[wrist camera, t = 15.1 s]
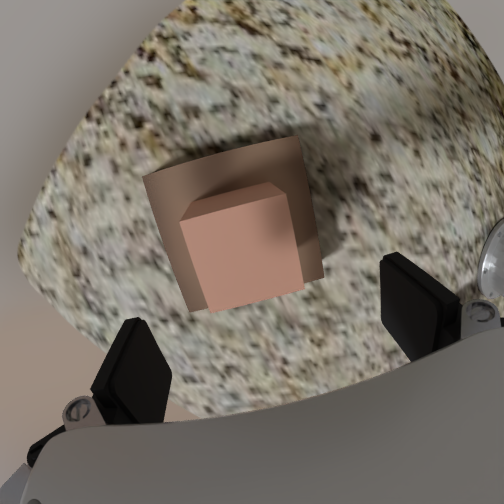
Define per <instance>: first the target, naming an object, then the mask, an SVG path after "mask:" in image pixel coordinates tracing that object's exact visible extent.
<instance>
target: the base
mask: <svg viewBox="0 0 504 504" xmlns="http://www.w3.org/2000/svg"><path fill="white" fill-rule="evenodd" d="M142 178H143V182H144V185H145V188H146V192H147V195H148V198H149V201H150V205H151V208H152V211H153V214H154V217H155V220H156V223H157V226H158V229H159V232H160V235H161V238H162V241H163V244H164V247H165V249H166V252H167V255H168V258H169V261H170V263H171V266H172V269H173V272H174V274H175V277H176V280H177V282H178V285H179V287H180V290H181V293H182V295H183V298H184V300H185V303H186V305H187V308H188V310H189V312H194V311H198V310H202V309H207V308H208V305H207V302H206V300H205V297H204V294H203V291H202V288H201V286H200V283H199V280H198V277H197V274H196V271H195V268H194V265H193V263H192V260H191V257H190V254H189V251H188V248H187V245H186V242H185V238H184V235H183V232H182V229H181V226H180V223H179V221H180V220H181V218H182V216H183V215H184V213H185V211H186V210H187V208H188V207H189V205H190V203H191V202H194V201H197V200H201V199H204V198H208V197H212V196H215V195H219V194H223V193H227V192H230V191H234V190H238V189H242V188H246V187H250V186H254V185H258V184H262V183H266V182H270V183H272V184H273V185H275V186H276V187H277V188H279V189H280V190H281V191H283V192H284V193H286V196H287V201H288V205H289V210H290V215H291V220H292V225H293V230H294V235H295V240H296V245H297V250H298V255H299V260H300V266H301V271H302V277H303V282H304V283H307V282H310V281H314V280H318V279H321V278H324V271H323V264H322V258H321V251H320V245H319V239H318V233H317V227H316V222H315V216H314V210H313V205H312V200H311V195H310V189H309V184H308V179H307V175H306V170H305V165H304V160H303V156H302V151H301V147H300V142H299V138H298V135H296V136H290V137H285V138H280V139H275V140H271V141H266V142H262V143H257V144H253V145H249V146H244V147H240V148H236V149H232V150H228V151H224V152H221V153H217V154H213V155H210V156H206V157H202V158H199V159H195V160H192V161H189V162H185V163H182V164H179V165H176V166H172V167H169V168H166V169H163V170H160V171H157V172H154V173H151V174H148V175H145V176H142Z"/></svg>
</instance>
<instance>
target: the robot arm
mask: <svg viewBox="0 0 504 504" xmlns="http://www.w3.org/2000/svg"><path fill="white" fill-rule="evenodd" d="M478 287H479V290H480V292H481V293H482V294H483V295H484V296H485V297H486V298H488V299H494V298H497V297H499V296H500V295H501V296H503V297H504V219H502V220H501V221H500V222H499V223H498V224H497V225H496V226H495V227H494V229H493V230H492V232H491V233H490V235H489V237H488V239H487V241H486V243H485V246H484V248H483V251H482V254H481V258H480V262H479V267H478ZM380 288H381V321H382V323H383V325H384V327H385V328H386V329H387V330H388V332H389V333H390V334H391V336H392V337H393V338H394V340H395V341H396V342H397V343H398V345H399V346H400V347H401V349H402V350H403V351H404V353H405V354H406V355H407V357H408V358H409V360H410V361H411V362H410V363H408V364H406V365H403V366H401V367H398V368H396V369H393V370H391V371H388V372H386V373H383V374H381V375H378V376H375V377H373V378H370V379H367V380H364V381H361V382H358V383H356V384H353V385H349V386H346V387H343V388H340V389H337V390H334V391H330V392H327V393H324V394H320V395H317V396H313V397H309V398H306V399H302V400H298V401H294V402H290V403H286V404H282V405H277V406H273V407H268V408H263V409H259V410H253V411H248V412H243V413H237V414H231V415H225V416H218V417H211V418H204V419H196V420H187V421H176V422H165V423H164V422H163V421H164V416H165V410H166V405H167V400H168V395H169V390H170V385H171V380H172V372H171V369H170V367H169V365H168V363H167V362H166V360H165V358H164V356H163V354H162V352H161V350H160V348H159V347H158V345H157V343H156V341H155V339H154V337H153V335H152V333H151V331H150V329H149V327H148V325H147V323H146V321H145V320H141V318H139V317H136V318H131V319H126V320H125V321H124V323H123V325H122V327H121V328H120V330H119V332H118V334H117V336H116V338H115V340H114V342H113V344H112V346H111V348H110V350H109V352H108V353H107V355H106V358H105V359H104V361H103V364H102V366H101V368H100V370H99V372H98V374H97V376H96V378H95V380H94V382H93V384H92V386H91V389H90V390H91V391H92V393H93V396H92V398H91V397H89V396H80V397H77V398H75V399H73V400H72V401H70V402H69V403H68V404H67V405H66V407H65V409H64V410H63V415H62V418H63V422H64V425H62V426H61V427H59V428H58V429H56V430H55V431H53V432H52V433H50V434H49V435H47V436H45V437H44V438H42V439H41V440H39V441H38V442H36V443H35V444H33V445H32V446H31V447H30V449H29V452H28V454H27V462H28V465H26V464H25V463H23V465H21V467H20V468H19V469H18V470H17V471H16V472H15V473H14V474H13V475H12V476H11V477H10V478H9V479H8V480H7V481H6V482H5V483H4V485H3V486H2V487H1V488H0V504H504V318H501V317H500V315H499V311H498V308H497V307H496V306H495V305H494V304H493V303H491V302H489V301H486V300H481V299H474V300H471V301H468V302H467V303H465V304H464V306H462V305H461V304H460V303H459V301H460V298H459V297H457V296H456V295H455V294H454V293H452V292H451V291H450V290H448V289H447V288H446V287H445V286H443V285H442V284H441V283H439V282H438V281H437V280H436V279H434V278H433V277H432V276H430V275H429V274H428V273H426V272H425V271H424V270H422V269H421V268H419V267H418V266H417V265H415V264H414V263H413V262H411V261H410V260H408V259H407V258H406V257H404V256H403V255H401V254H400V253H399V252H394V253H391V254H387V255H384V256H383V260H381V261H380Z"/></svg>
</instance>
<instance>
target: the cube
mask: <svg viewBox="0 0 504 504" xmlns="http://www.w3.org/2000/svg"><path fill="white" fill-rule="evenodd" d="M179 223H180V226H181V229H182V232H183V235H184V238H185V242H186V245H187V248H188V251H189V254H190V257H191V260H192V263H193V265H194V268H195V271H196V274H197V277H198V280H199V283H200V286H201V288H202V291H203V294H204V297H205V300H206V302H207V305H208V308H209V310H210V313H214V312H218V311H222V310H226V309H230V308H234V307H238V306H242V305H246V304H250V303H254V302H258V301H262V300H266V299H270V298H274V297H277V296H281V295H285V294H288V293H292V292H296V291H299V290H303V289H305V288H304V282H303V277H302V271H301V266H300V260H299V255H298V250H297V245H296V240H295V235H294V230H293V225H292V220H291V215H290V210H289V205H288V201H287V196H286V193H284V192H283V191H281V190H280V189H279V188H277V187H276V186H275V185H273V184H272V183H270V182H266V183H262V184H258V185H254V186H250V187H246V188H242V189H238V190H234V191H230V192H227V193H223V194H219V195H215V196H212V197H208V198H204V199H201V200H197V201H194V202H191V203H190V205H189V207H188V208H187V210H186V211H185V213H184V215H183V216H182V218H181V220H180V221H179Z"/></svg>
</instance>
